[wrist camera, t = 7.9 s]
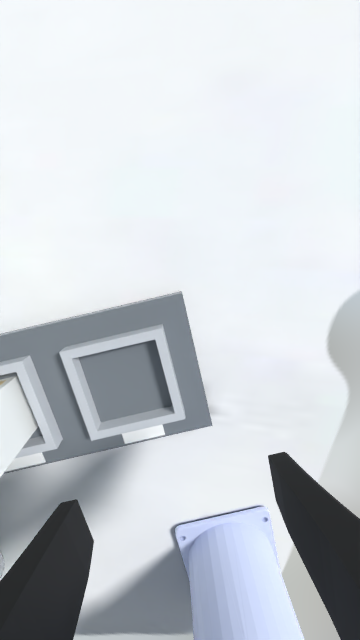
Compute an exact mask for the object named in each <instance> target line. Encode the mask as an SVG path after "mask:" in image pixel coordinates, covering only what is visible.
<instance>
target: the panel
mask: <svg viewBox="0 0 360 640" xmlns="http://www.w3.org/2000/svg"><path fill="white" fill-rule="evenodd" d="M14 376H18V378H19V380H20V383H21V385H22V388H23V390H24V392H25V395H26V397H27V400H28V402H29V404H30V407H31V409H32V412H33V414H34V416H35V419H36V421H37V424H38V428H37V429H36V430H35V432H34V433H33V434H32V436H31V437H30V438H29V440H28V441H27V442H26V444H25V445H24V446H23V448H22V449H21V450H20V452H19V453H18V454H17V456H16V457H15V458H14V460H13V461H12V462H11V464H10V465H9V466H8V468H7V469H6V470H5V472H4V473H9V472H13V471H17V470H22V469H26V468H30V467H35V466H39V465H43V464H48V463H52V462H56V461H61V460H65V459H69V458H74V457H78V456H82V455H87V454H91V453H95V452H100V451H104V450H108V449H113V448H117V447H121V446H126V445H130V444H134V443H139V442H143V441H147V440H152V439H156V438H160V437H165V436H169V435H173V434H178V433H182V432H186V431H191V430H195V429H199V428H204V427H208V426H212V422H211V417H210V413H209V409H208V404H207V400H206V396H205V391H204V387H203V382H202V378H201V374H200V369H199V365H198V361H197V356H196V352H195V348H194V343H193V339H192V334H191V330H190V326H189V321H188V317H187V313H186V308H185V304H184V299H183V295H182V292H177V293H172V294H168V295H164V296H160V297H155V298H151V299H147V300H143V301H138V302H134V303H130V304H126V305H121V306H117V307H113V308H109V309H104V310H100V311H96V312H92V313H87V314H83V315H79V316H75V317H71V318H66V319H62V320H58V321H54V322H49V323H45V324H41V325H37V326H32V327H28V328H24V329H20V330H15V331H11V332H7V333H3V334H0V380H1V379H5V378H10V377H14ZM4 473H3V474H4Z"/></svg>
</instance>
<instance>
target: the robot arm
mask: <svg viewBox="0 0 360 640" xmlns="http://www.w3.org/2000/svg"><path fill="white" fill-rule="evenodd" d="M268 458H269V464H270V470H271V475H272V481H273V487H274V492H275V498H276V502H277V504H278V507H279V509H280V512H281V514H282V517H283V520H284V522H285V525H286V527H287V530H288V532H289V534H290V536H291V538H292V540H293V542H294V544H295V546H296V548H297V550H298V553H299V554H300V557H301V558H302V561H303V563H304V565H305V567H306V569H307V571H308V573H309V575H310V577H311V579H312V581H313V583H314V585H315V587H316V589H317V591H318V593H319V595H320V597H321V599H322V601H323V603H324V604H325V607H326V609H327V611H328V613H329V615H330V617H331V619H332V621H333V624H334V626H335V628H336V630H337V632H338V634H339V636H340V639H341V640H360V519H359V518H358V517H357V516H356V515H354V514H353V513H352V512H351V511H349V510H348V509H347V508H346V507H344V506H343V505H342V504H341V503H340V502H339V501H338V500H336V499H335V498H334V497H333V496H332V495H330V494H329V493H328V492H327V491H326V490H325V489H324V488H323V487H321V486H320V485H319V484H318V483H317V482H316V481H315V480H314V479H313V478H312V477H311V476H310V475H308V474H307V473H306V472H305V471H304V470H303V469H302V468H301V467H300V466H299V465H298V464H297V463H296V462H295V461H294V460H293V459H292V458H291V457H290V456H289V455H288V454H287V453H285V452H282V453H277V454H273V455H268ZM175 535H176V539H177V542H178V545H179V549H180V552H181V555H182V558H183V562H184V565H185V568H186V572H187V575H188V578H189V582H190V592H191V606H192V621H193V635H194V640H305V639H304V637H303V634H302V631H301V628H300V626H299V623H298V620H297V617H296V614H295V611H294V609H293V606H292V603H291V600H290V597H289V595H288V592H287V589H286V586H285V584H284V581H283V578H282V575H281V572H280V566H279V561H278V555H277V550H276V545H275V539H274V534H273V528H272V523H271V518H270V513H269V510H268V508H267V507H264V506H262V507H257V508H253V509H248V510H244V511H240V512H235V513H231V514H226V515H222V516H218V517H213V518H209V519H204V520H200V521H196V522H191V523H187V524H182V525H179V526H177V527H176V528H175ZM93 543H94V540H93V538H92V535H91V533H90V530H89V528H88V525H87V523H86V521H85V518H84V516H83V513H82V511H81V508H80V506H79V503H78V501H77V499H76V500H72V501H68V502H63V503H61V504H60V505H59V506H58V507H57V509H56V510H55V511H54V512H53V514H52V515H51V516H50V518H49V519H48V520H47V522H46V523H45V524H44V526H43V527H42V528H41V530H40V531H39V532H38V534H37V535H36V536H35V537H34V539H33V540H32V541H31V543H30V544H29V545H28V547H27V548H26V549H25V551H24V552H23V553H22V554H21V556H20V557H19V558H18V560H17V561H16V562H15V564H14V565H13V566H12V567H11V569H10V570H9V571H8V573H7V574H6V575H5V576H4V577H3V579H2V580H1V581H0V640H73V637H74V633H75V629H76V625H77V622H78V618H79V614H80V610H81V606H82V602H83V598H84V593H85V589H86V585H87V581H88V577H89V570H90V564H91V558H92V550H93Z"/></svg>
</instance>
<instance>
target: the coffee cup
mask: <svg viewBox="0 0 360 640" xmlns="http://www.w3.org/2000/svg"><path fill="white" fill-rule="evenodd" d="M3 570H4V559H3V556H2V553H1V552H0V578H1V575H2V573H3Z"/></svg>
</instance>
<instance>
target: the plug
mask: <svg viewBox="0 0 360 640" xmlns="http://www.w3.org/2000/svg"><path fill="white" fill-rule="evenodd" d="M37 428H38V424H37V421H36V419H35V416H34V414H33V412H32V409H31V407H30V404H29V402H28V400H27V397H26V395H25V392H24V390H23V388H22V385H21V383H20V380H19V378H18V376H14V377H10V378H5V379H1V380H0V477H1V476H2V474H3V473H4V472H5V470H6V469H7V468H8V466H9V465H10V464H11V462H12V461H13V460H14V458H15V457H16V456H17V454H18V453H19V452H20V450H21V449H22V448H23V446H24V445H25V444H26V442H27V441H28V440H29V438H30V437H31V436H32V434H33V433H34V432H35V430H36V429H37Z"/></svg>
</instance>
